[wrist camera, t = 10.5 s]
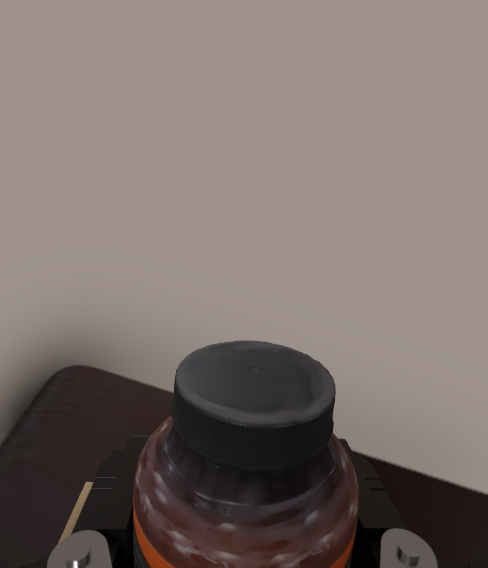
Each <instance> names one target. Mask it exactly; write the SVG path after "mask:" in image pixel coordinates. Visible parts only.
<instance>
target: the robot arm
mask: <svg viewBox="0 0 488 568" xmlns="http://www.w3.org/2000/svg"><path fill="white" fill-rule="evenodd" d="M149 438H150V436H136V435H132V436H131V437H130V439H129V442H128V445H127V447H126V450H125V452H121V451H113V452H112V453H111V454H110V455H109V456H108V457H107V458H106V459H105V460H104V461H103V462H102V464H101V466H100V468H99V471H98V473H97V475H96V479H95V480H94V482H93V484H92V487H91V490H90V491H89V494H88V496H87V498H86V501H85V503H84V505H83V507H82V510H81V512H80V514H79V517H78V519H77V521H76V524H75V526H74V528H73V531H72V533H71V535H70V536H68V537H66V538H65V539H63V540H62V541H61V542H60V543H59V544H58V545H57V546H56V547H55V548H54V550H53V551H52V553H51V554H50V555H49V556H48V557H46V558H44V559H42V560H40V561H37V562H34V563H31V564H28V565H24V566H21V567H18V568H133V555H134V552H133V550H134V548H133V527H134V526H133V511H134V507H133V492H134V479H135V473H136V468H137V464H138V461H139V458H140V454H141V452H142V450H143V449H144V447H145V444H146V443H147V442H148V440H149ZM339 440H340V442H341V443H342V445H343V446H344V448H345V449H346V451H347V453H348V454H349V457H350V459H351V461H352V464H353V466H354V469H355V473H356V476H357V480H358V485H359V512H358V521H357V527H356V533H355V538H354V543H353V553H352V557H351V562H350V567H349V568H488V553H478V554H475V555H474V556H473V557H472V558H471V560H470V563H469V565H465V564H462V563H459V562H455V561H452V560H448V559H445V558H442V557H439V556H437V555H435V554H434V553H433V551H432V549H431V548H430V547H429V545H428V544H427V543H426V542H425V541H424V540H423V539H421V538H420V537H419V536H417V535H416V534H414V533H412V532H410V531H408V529H407V527H406V525H405V524H404V522H403V520H402V518H401V516H400V514H399V513H398V511H397V509H396V507H395V505H394V504H393V502H392V500H391V498H390V496H389V494H388V493H387V491H385V487H384V485H383V484H382V482H381V481H380V479H379V476H378V474H377V473H376V471H375V469H374V467H373V465H372V464H370V463H369V462H368V461H367V460H366V459H365V458H364V457H363V456H362V455H358V454H353V453H352V451H351V449H350V447H349V445H348V443H347V441H346V440H345V439H339ZM0 568H9V566H8V564H7V563H6V562H5V561H4V560H2V559H0Z"/></svg>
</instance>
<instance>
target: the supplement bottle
mask: <svg viewBox="0 0 488 568" xmlns="http://www.w3.org/2000/svg"><path fill="white" fill-rule="evenodd" d="M334 403H335V383H334V380H333V377H332V376H331V375H330V373H329V371H328V370H327V369H326V368H325V367H324V366H323V365H322V364H321V363H320V362H319V361H316V360H314V359H312V358H311V357H310V356H308V355H307V354H304V353H302V352H299V351H297V350H294V349H292V348H289V347H285V346H282V345H277V344H272V343H268V342H260V341H234V342H224V343H218V344H213V345H209V346H206V347H204V348H201V349H198V350H196V351H194V352H192V353H191V354H190V355H188V356H187V357H186V358H185V359H184V360H183V361H182V362H181V363H180V365H179V367H178V369H177V370H176V375H175V383H174V399H173V404H172V409H171V416H170V417H168V418H167V419H166V420H165V421H164V422H163V423H162V424H161V425H160V426H159V427H158V428H157V429H156V430H155V432H154V433H153V434H152V435H151V436H150V438H149V440H148V442H147V443H146V444H145V447H144V449H143V450H142V452H141V454H140V458H139V461H138V464H137V468H136V473H135V479H134V492H133V507H134V511H133V526H134V527H133V548H134V550H133V552H134V555H133V568H349V567H350V562H351V557H352V553H353V543H354V538H355V533H356V527H357V521H358V512H359V485H358V480H357V476H356V473H355V469H354V466H353V464H352V461H351V459H350V457H349V454H348V453H347V451H346V449H345V448H344V446H343V445H342V443H341V442H340V440H339V439H338V438H337V437H336V436H335V435H334V433H333V425H334V423H333V419H332V418H333V409H334Z"/></svg>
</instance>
